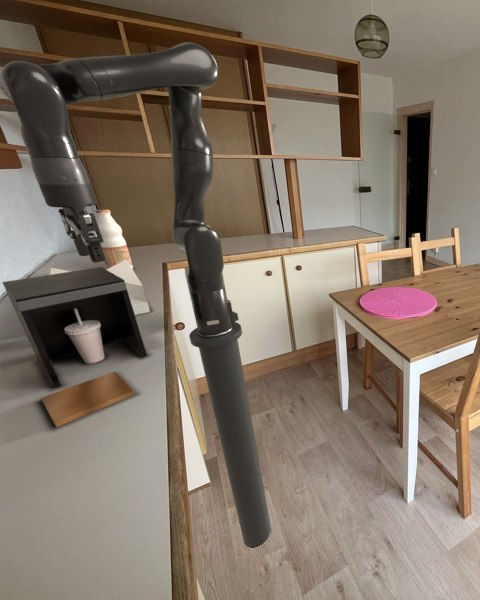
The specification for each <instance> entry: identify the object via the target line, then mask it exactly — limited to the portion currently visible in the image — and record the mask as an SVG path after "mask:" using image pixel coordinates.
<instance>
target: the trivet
mask: <svg viewBox="0 0 480 600" xmlns="http://www.w3.org/2000/svg"><path fill="white" fill-rule="evenodd" d="M135 395H136V394H135V391H134V390H133V389H132V387H131V386H130V385H129V384H128V383H127V381H125V380H124V379H123V378H122V377H121V376H120V375H119V373H117V372H116V371H112V372H110V373H106V374H103V375H101V376H97V377H95V378H92V379H89V380H87V381H84V382H82V383H78V384H75V385H72V386H71V387H70V386H69V387H67V388H65V389H62V390H59V391H56V392H53V393H50V394H48V395H45V396H43V397H40V400H41V401H42V403H43V405H44V407H45V409H46V410H47V413H48V415H49V416H50V418H51V420H52V422H53V424H54V425H55V428H59V427H61V426H63V425H65V424H68V423H70V422H73V421H75V420H78V419H80V418H83V417H85V416H86V415H89V414H92V413H94V412H97V411H99V410H101V409H104V408H107V407H108V406H111V405H114V404H116V403H119V402H120V401H123V400H125V399H127V398H130V397H132V396H135Z"/></svg>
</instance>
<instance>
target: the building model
mask: <svg viewBox="0 0 480 600" xmlns="http://www.w3.org/2000/svg"><path fill="white" fill-rule="evenodd" d="M106 270H107V271H109V272H111V273H113V274H115V275H116V276H118V277H120V278H122V279H123V280H124V281H125V284H126V288H127V291H128V294H129V298H130V301H131V304H132V308H133V311H134V314H135V316H136V315H141V314H146V313H151V310H150V307H149V303H148V299H147V297H146V292H145V289H144V286H143V284H142V282H141V281H140V279H139V276H137V274H136V272H135V271H134V268H133V269H132V268H131V266H130V265H129V263H128V261H127V260H124V261H122V262H120V263H118V264H116V265H115V266H113V267H111V268H109V269H107V268H106ZM65 272H72V271H70V270H66V269H60V268H55V267H50V272H49V275H52V274H59V273H65Z"/></svg>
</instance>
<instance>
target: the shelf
mask: <svg viewBox="0 0 480 600" xmlns="http://www.w3.org/2000/svg"><path fill="white" fill-rule="evenodd" d="M2 286H3V287H4V289H5V292H6V294H7V296H8V298H9V301H10V302H11V304H12V307H13V309H14V311H15V313H16V316H17V318H18V320H19V322H20V324H21V326H22V328H23V331H24V333H25V336H26V338H27V340H28V342H29V344H30V346H31V348H32V351H33V353H34V355H35V357H36V360H37V362H38V363H39V366H40V367H41V368H42V370H43V371H44V373H45V375H46V376H47V379H49V381H50V382H51V385H52V386H53V388H54V389H56V388H60V387H62V384H61V382H60V380H59V377H58V375H57V372H56V370H55V368H54V366H53V363H52V360H56V359H58V358H59V359H60V358H63V357H66V356H69V355H72V354H75V353H79V352H78V350H77V349H76V347H75V345H74V344H73V342H72V341H71V339H70V337H69V336H68V335H67V334H65V331H64V328H65V327H67V326H69V325H71V324H74V323H77V322H78V320H77V317H76V314H75V312H74V308H77V310H78V313H79V316H80V318H81V321H88V320H96V321H99V322H100V324H101V327H100V332H101V338H102V344H103V345H106V344H108V343H109V344H110V343H112V342H116V341H120V340H122V341H123V342H124V343H125V344H126V345H127V346H129V348H131V349H132V350H134V352H135V353H137V354H139V356H140V357H142V358H145V357H148V354H147V350H146V348H145V344H144V340H143V337H142V334H141V331H140V328H139V325H138V321H137V318H136V315H135V314H134V311H133V308H132V304H131V301H130V298H129V294H128V291H127V288H126V284H125V281H124V280H123V279H122V278H120V277H118V276H116V275H115V274H113V273H111V272H109V271H107V268H106V269H105V268H104V267H102V266H99V267H92V268H86V269H80V270H73V271H71V272H65V273H59V274H52V275H50V274H46V275H40V276H33V277H27V278H21V279H14V280H8V281H2Z"/></svg>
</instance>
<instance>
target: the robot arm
mask: <svg viewBox="0 0 480 600" xmlns="http://www.w3.org/2000/svg"><path fill="white" fill-rule="evenodd" d="M218 78H219V67H218V63H217V61H216V59H215V58H214V56H213V55H212V53H211V52H210V51H209V50H208V49H207V48H205V47H203V46H202V45H200V44H198V43H195V42H189V41H188V42H187V41H186V42H181V43H179V44H176V45H174V46H172V47H170V48H168V49H165V50H160V51H155V52H148V53H140V54H125V55H123V54H122V55H103V56H89V57H88V56H87V57H75V58H68V59H63V60H61V61H58V62H55V63H44V64H43V63H42V64H35V63H33V62H30V61H25V60H14V61H10V62H8V63H6V64H5V65H4V66H2V67H1V68H0V91H1V92H2V94H3V95H4V96H5V97H6V98H8V99H9V101H11V102H12V103H13V106H14V108H15V111H16V114H17V116H18V118H19V122H20V126H19V131H20V135H21V139H22V140H23V143H24V146H25V148H26V151H27V154H28V156H29V159H30V163H31V168H32V171H33V173H34V176H35V178H36V181H37V184H38V187H39V189H40V191H41V194H42V197H43V199H44V201H45V204H46V205H47V206H48V207H51V208H58V213H59V215H60V218H61V221H62V223H63V226H64V229H65V231H66V235H68V237H69V238H70V239H71V240H72V241H73V243H74V246H75V248H76V251H77V253H78V255H79V256H81V257H87V256H89V258H90V261H91V262H92V263H95V264H96V263H101V262H105V260H106V259H105V256H104V253H103V250H102V247H101V244H102V243H101V242H104V241H103V238H102V235H101V232H100V230H99V227H98V224H97V219H96V215H95V214H94V213H93V212H92V213H91V212H88V210H87V207H93V206H95V205H97V200H96V197H95V194H94V191H93V188H92V185H91V182H90V179H89V176H88V173H87V171H86V167H85V166H84V164H83V163H82V159H81V158H80V154H79V152H78V148H77V145H76V142H75V140H74V138H73V135H72V133H71V126H70V121H69V115H68V110H67V106H68V105H72V104H73V105H74V104H77V103H82V102H83V103H84V102H99V101H105V100H110V99H111V100H112V99H116V98H117V99H119V98H123V97H127V96H128V97H129V96H132V95H138V94H141V93H145V92H147V91H148V92H149V91H152V90H158V89H163V88H167V91H168V92H167V94H168V102H169V110H170V111H169V113H170V115H169V116H170V117H169V118H170V120H169V121H170V122H169V123H170V125H169V126H170V153H171V154H170V156H171V169H172V183H173V196H174V197H173V198H174V209H173V210H174V211H173V223H172V240H173V243H174V245H175V246H176V247H177V248H178V250H180V251H181V252H183V253H185V255H186V259H187V266H188V268H187V269H186V270H185V272H184V276H185V279H186V284H187V288H188V292H189V297H190V301H191V307H192V310H193V311H192V312H193V315H194V319H195V324H196V328H197V329H198V334H199V336H201V337H205V338H213V337H219V336H222V335H225V334H227V333H229V332H231V331H232V330H233V329H235V322H238V321H239V313H238V312H235V311H234V310H233V307H232V301H231V300H230V299H228V296H227V291H226V284H225V279H224V273H223V272H224V268H225V261H224V255H223V246H222V241H221V237H220V235H219V233H218V231H217V230H216V229H215V228H214V227H212V226H210V225H208V224H206V216H205V214H206V213H205V207H206V206H205V204H206V200H207V197H208V194H209V190H210V187H211V185H212V181H213V178H214V151H213V145H212V142H211V138H210V136H209V133H208V131H207V128H206V126H205V122H204V118H203V111H202V104H203V103H202V102H203V100H202V99H203V90H207V89H210V88H212V87H213V86H214V85H215V84H216V83H217V81H218Z"/></svg>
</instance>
